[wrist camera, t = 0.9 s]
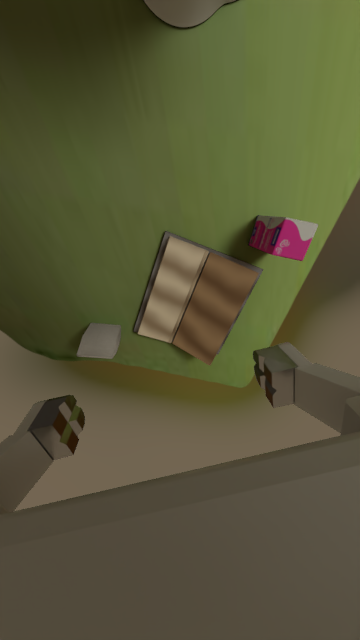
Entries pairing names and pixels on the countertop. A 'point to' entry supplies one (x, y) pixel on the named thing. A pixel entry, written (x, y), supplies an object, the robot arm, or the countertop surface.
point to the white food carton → (100, 341)
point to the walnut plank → (213, 307)
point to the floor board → (176, 286)
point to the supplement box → (282, 236)
